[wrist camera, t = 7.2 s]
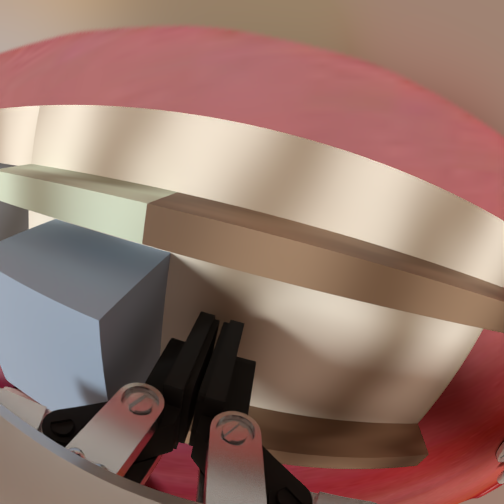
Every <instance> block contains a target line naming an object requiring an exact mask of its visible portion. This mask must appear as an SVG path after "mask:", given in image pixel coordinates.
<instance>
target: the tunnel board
mask: <svg viewBox="0 0 504 504" xmlns="http://www.w3.org/2000/svg"><path fill="white" fill-rule="evenodd" d="M54 219H58V220H61V221H64V222H67V223H71V224H74V225H77V226H81V227H84V228H87V229H91V230H94V231H97V232H101V233H104V234H107V235H111V236H114V237H118V238H121V239H125V240H128V241H132V242H135V243H138V244H142V245H146V246H149V247H153V248H156V249H160V250H163V251H167V252H170V253H171V255H170V262H169V270H168V277H167V286H166V294H165V304H164V314H163V324H162V336H161V349H160V356H161V354H162V352H163V351H164V349H165V347H166V346H167V344H168V342H169V341H170V339H171V338H175V339H178V340H181V341H184V342H185V341H186V339H187V337H188V335H189V333H190V331H191V330H192V328H193V326H194V324H195V322H196V320H197V318H198V316H199V314H200V312H201V311H202V312H206V313H209V314H213V315H215V319H216V320H220V323H219V327H218V332H217V336H216V341H215V345H216V342H217V339H218V337H219V334H220V331H221V328H222V326H223V323H224V322H227V323H230V320H234V321H238V322H242V323H245V324H244V328H243V332H242V336H241V340H240V344H239V348H238V353H237V357H241V358H244V359H248V360H252V361H256V367H255V373H254V380H253V387H252V393H251V399H250V406H249V412H248V416H250V417H251V418H253V419H254V420H255V421H256V422H257V424H258V425H259V427H260V431H261V439H262V445H263V446H264V447H265V448H266V449H267V450H268V451H269V452H270V453H271V454H272V455H273V456H274V457H275V458H276V459H277V460H278V461H279V462H280V463H281V464H287V465H296V466H306V467H318V468H337V469H376V468H395V467H407V466H416V465H418V464H419V463H420V462H421V461H422V460H423V459H424V458H425V457H426V456H427V455H428V451H427V448H426V445H425V442H424V440H423V437H422V434H421V431H420V429H419V426H418V422H419V421H420V420H421V419H422V418H423V416H424V415H425V414H426V413H427V412H428V410H429V409H430V408H431V407H432V405H433V404H434V403H435V402H436V400H437V399H438V398H439V396H440V395H441V394H442V392H443V391H444V390H445V388H446V387H447V386H448V384H449V383H450V381H451V380H452V378H453V377H454V376H455V374H456V373H457V371H458V370H459V368H460V367H461V365H462V363H463V362H464V360H465V359H466V357H467V356H468V354H469V352H470V351H471V349H472V347H473V346H474V344H475V342H476V341H477V339H478V337H479V335H480V334H481V332H482V330H483V329H487V330H492V331H497V332H502V333H504V288H503V287H504V221H503V220H501V219H499V218H498V217H496V216H494V215H492V214H491V213H489V212H487V211H485V210H483V209H482V208H480V207H478V206H476V205H474V204H472V203H470V202H468V201H466V200H464V199H462V198H460V197H458V196H456V195H454V194H452V193H450V192H448V191H446V190H444V189H442V188H439V187H437V186H435V185H433V184H431V183H428V182H426V181H424V180H421V179H419V178H417V177H414V176H412V175H410V174H407V173H405V172H402V171H400V170H397V169H395V168H392V167H390V166H387V165H384V164H382V163H379V162H376V161H374V160H371V159H368V158H365V157H362V156H360V155H357V154H354V153H351V152H348V151H345V150H342V149H338V148H335V147H332V146H329V145H326V144H322V143H319V142H315V141H312V140H308V139H305V138H301V137H298V136H294V135H290V134H286V133H282V132H278V131H274V130H270V129H266V128H261V127H257V126H252V125H248V124H243V123H238V122H233V121H228V120H223V119H217V118H211V117H205V116H199V115H193V114H186V113H179V112H171V111H163V110H154V109H143V108H132V107H118V106H97V105H45V106H26V107H13V108H2V109H0V241H2V240H4V239H6V238H9V237H11V236H13V235H16V234H18V233H21V232H23V231H26V230H28V229H31V228H33V227H36V226H38V225H41V224H43V223H46V222H49V221H51V220H54ZM215 345H214V348H215ZM213 351H214V350H213ZM193 418H194V417H193ZM192 423H193V420H192ZM192 423H191V426H190V429H189V432H188V434H187V437H186V440H185V443H187V444H189V440H190V434H191V429H192Z"/></svg>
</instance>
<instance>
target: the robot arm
mask: <svg viewBox="0 0 504 504" xmlns="http://www.w3.org/2000/svg"><path fill="white" fill-rule="evenodd" d="M219 323H220V320H216V319H215V315H213V314H209V313H206V312H202V311H201V312H200V314H199V316H198V318H197V320H196V322H195V324H194V326H193V328H192V330H191V331H190V333H189V335H188V337H187V339H186V341H185V342H184V341H181V340H178V339H175V338H171V339H170V341H169V342H168V344H167V346H166V347H165V349H164V351H163V352H162V354H161V356H160V358H159V359H158V361H157V363H156V364H155V366H154V368H153V370H152V371H151V373H150V375H149V376H148V378H147V380H146V382H145V383H139V382H137V383H130V384H127V385H125V386H123V387H122V388H121V389H119V390H118V392H117V393H116V394H115V395H114V396H113V397H112V398H111V399H110V400H109V401H106V402H101V403H96V404H90V405H84V406H78V407H72V408H65V409H58V410H55V411H50V410H48V408H47V407H46V406H44V405H41V404H38V403H36V402H33V401H31V400H28V399H26V398H24V397H21V396H19V395H17V394H15V393H12V392H10V391H8V390H6V389H2V388H0V504H377V503H374V502H370V501H364V500H358V499H352V498H346V497H341V496H336V495H332V494H327V493H323V492H319V493H318V494H317V493H313V492H310V491H309V490H308V489H307V488H306V487H305V486H304V485H303V484H302V483H301V482H300V481H299V480H298V479H296V478H295V477H294V476H293V475H292V474H291V473H290V472H289V471H288V470H287V469H286V468H285V467H284V466H283V465H282V464H281V463H280V462H279V461H278V460H277V459H276V458H275V457H274V456H273V455H272V454H271V453H270V452H269V451H268V450H267V449H266V448H265V447H264V446H263V445H262V439H261V431H260V427H259V425H258V424H257V422H256V421H255V420H254V419H253V418H251V417H250V416H248V412H249V406H250V399H251V393H252V387H253V380H254V373H255V367H256V361H252V360H248V359H244V358H241V357H237V353H238V348H239V344H240V340H241V336H242V332H243V328H244V324H245V323H242V322H238V321H234V320H230V323H227V322H224V323H223V326H222V328H221V331H220V334H219V337H218V339H217V342H216V345H215V341H216V336H217V332H218V327H219ZM214 345H215V348H214ZM213 350H214V351H213ZM193 417H194V418H193ZM192 420H193V423H192ZM191 423H192V429H191V434H190V440H189V445H191V446H193V449H192V454H191V458H192V459H193V460H194V462H195V463H196V464H197V466H198V467H199V470H198V482H197V496H196V502H194V501H190V500H187V499H183V498H180V497H176V496H173V495H170V494H167V493H164V492H161V491H158V490H155V489H152V488H149V487H147V486H144V484H145V483H146V481H147V480H148V478H149V476H150V475H151V473H152V472H153V470H154V469H155V467H156V466H157V464H158V462H159V461H160V459H161V457H162V454H165V453H168V452H171V451H173V448H174V449H176V448H177V445H178V443H179V442H181V443H185V440H186V437H187V434H188V432H189V429H190V426H191ZM496 458H497V460H498V462H504V442H503V443H502V444H501V446H500V447H499V449H498V451H497V453H496ZM497 481H498V483H499V484H503V483H504V471H503V472H502V473H501V474H500V475H499V476H498V477H497Z"/></svg>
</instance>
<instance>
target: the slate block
mask: <svg viewBox="0 0 504 504" xmlns="http://www.w3.org/2000/svg"><path fill="white" fill-rule="evenodd" d="M170 255H171V253H170V252H167V251H163V250H160V249H156V248H153V247H149V246H146V245H142V244H138V243H135V242H132V241H128V240H125V239H121V238H118V237H114V236H111V235H107V234H104V233H101V232H97V231H94V230H91V229H87V228H84V227H81V226H77V225H74V224H71V223H67V222H64V221H61V220H58V219H54V220H51V221H49V222H46V223H43V224H41V225H38V226H36V227H33V228H31V229H28V230H26V231H23V232H21V233H18V234H16V235H13V236H11V237H9V238H6V239H4V240H2V241H0V365H1V368H2V370H3V373H4V375H5V378H6V380H8V381H9V382H10V383H12V384H13V385H14V386H16V387H17V388H18V389H20V390H21V391H22V392H24V393H25V394H27V395H28V396H29V397H31V398H32V399H34V400H35V401H37V402H38V403H40V404H41V405H44V406H46V407H47V408H48V409H49V410H51V411H55V410H58V409H65V408H72V407H78V406H84V405H90V404H96V403H101V402H106V401H109V400H110V399H111V398H112V397H113V396H114V395H115V394H116V393H117V392H118V390H119V389H121V388H122V387H123V386H125V385H127V384H130V383H137V382H139V383H145V382H146V380H147V378H148V376H149V375H150V373H151V371H152V370H153V368H154V366H155V364H156V363H157V361H158V359H159V358H160V349H161V336H162V324H163V314H164V304H165V294H166V286H167V277H168V270H169V262H170Z"/></svg>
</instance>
